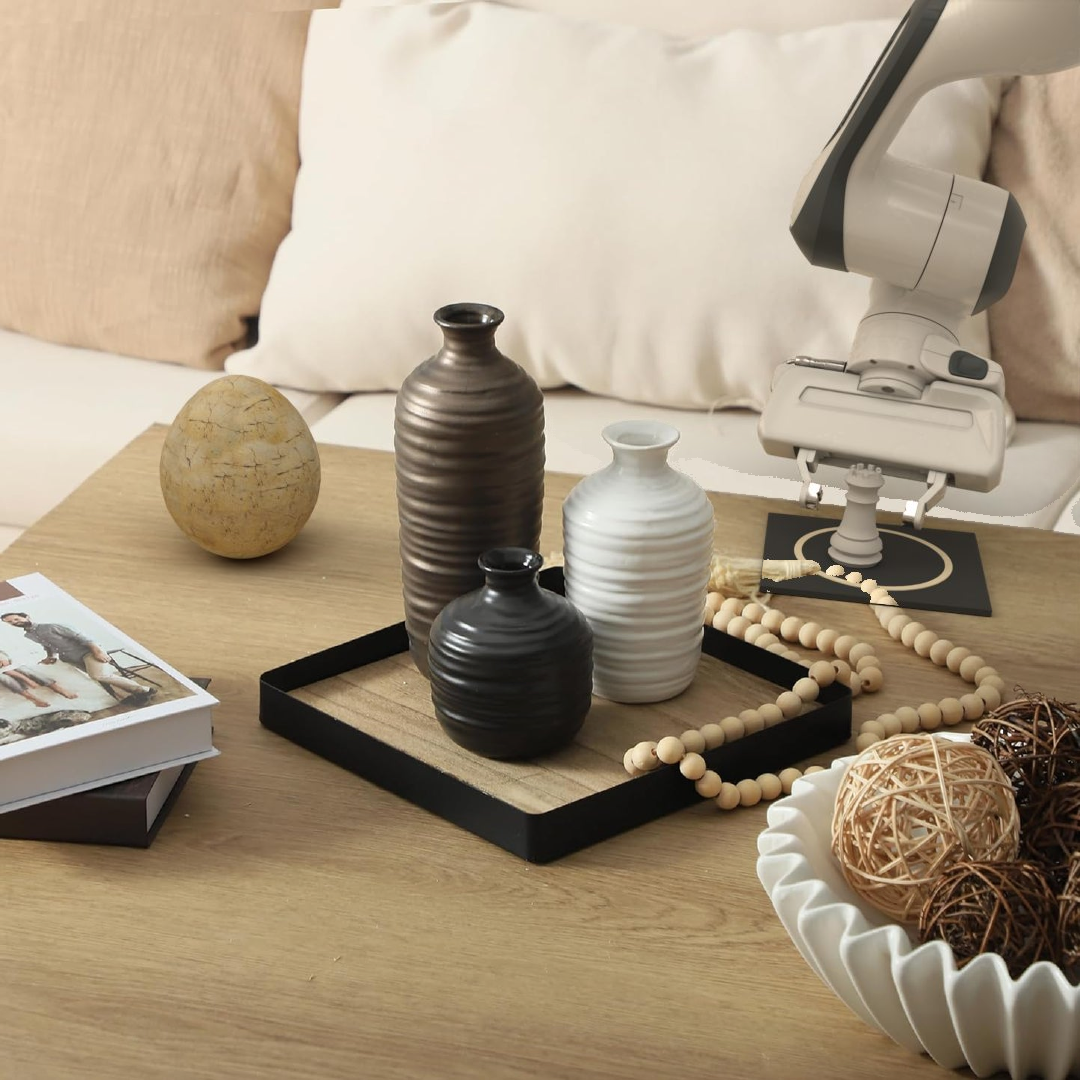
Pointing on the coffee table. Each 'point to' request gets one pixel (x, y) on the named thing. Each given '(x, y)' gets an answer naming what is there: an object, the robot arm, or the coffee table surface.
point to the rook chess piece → (859, 520)
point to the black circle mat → (884, 565)
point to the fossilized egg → (240, 468)
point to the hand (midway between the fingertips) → (859, 515)
